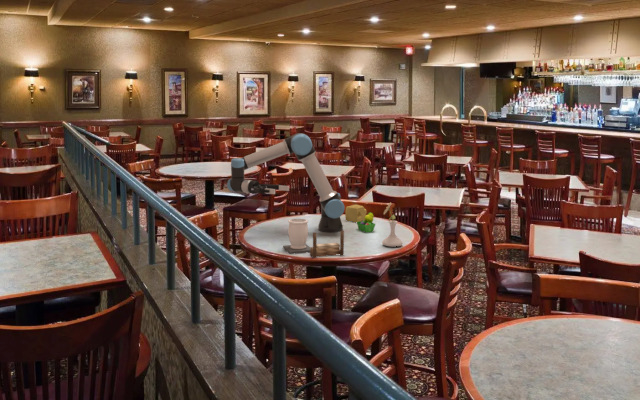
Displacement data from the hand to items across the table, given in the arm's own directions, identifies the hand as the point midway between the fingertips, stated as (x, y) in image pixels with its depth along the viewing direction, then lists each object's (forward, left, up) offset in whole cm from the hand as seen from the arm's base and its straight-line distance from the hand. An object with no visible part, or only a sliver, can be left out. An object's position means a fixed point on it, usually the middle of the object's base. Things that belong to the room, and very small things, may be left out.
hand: (281, 190), depth 358 cm
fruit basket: (-58, -15, -30) cm, 67 cm away
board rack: (-15, +32, -30) cm, 47 cm away
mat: (-4, +18, -30) cm, 35 cm away
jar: (-4, +18, -29) cm, 35 cm away
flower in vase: (-56, +25, -30) cm, 68 cm away
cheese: (-63, -45, -30) cm, 83 cm away
